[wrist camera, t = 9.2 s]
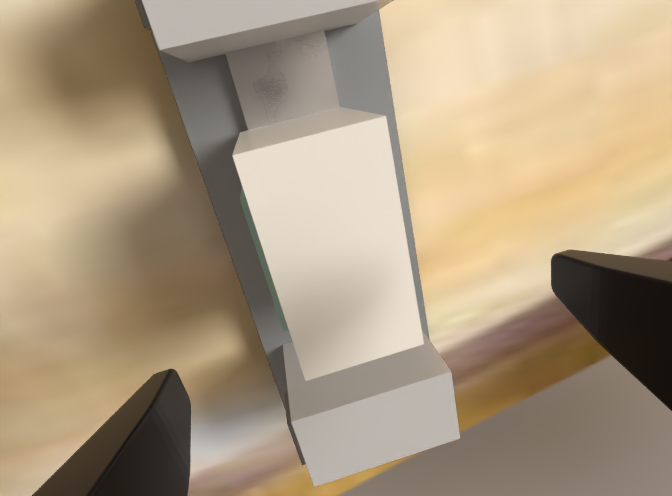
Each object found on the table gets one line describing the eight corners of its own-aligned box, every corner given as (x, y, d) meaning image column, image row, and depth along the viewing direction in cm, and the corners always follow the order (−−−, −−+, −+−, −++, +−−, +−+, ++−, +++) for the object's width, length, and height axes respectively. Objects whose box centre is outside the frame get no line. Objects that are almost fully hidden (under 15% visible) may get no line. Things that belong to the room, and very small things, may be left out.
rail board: (352, -103, 16) (411, -221, 10) (425, 354, 25) (481, 439, 19) (125, -58, 15) (40, -155, 9) (285, 397, 24) (295, 501, 18)
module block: (340, 106, 17) (385, 115, 11) (374, 270, 20) (424, 344, 15) (232, 134, 17) (221, 158, 11) (284, 296, 20) (297, 383, 14)
